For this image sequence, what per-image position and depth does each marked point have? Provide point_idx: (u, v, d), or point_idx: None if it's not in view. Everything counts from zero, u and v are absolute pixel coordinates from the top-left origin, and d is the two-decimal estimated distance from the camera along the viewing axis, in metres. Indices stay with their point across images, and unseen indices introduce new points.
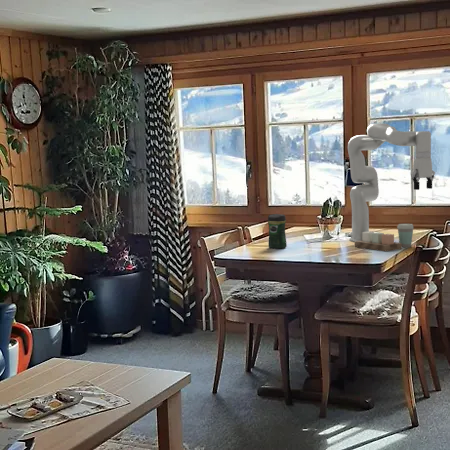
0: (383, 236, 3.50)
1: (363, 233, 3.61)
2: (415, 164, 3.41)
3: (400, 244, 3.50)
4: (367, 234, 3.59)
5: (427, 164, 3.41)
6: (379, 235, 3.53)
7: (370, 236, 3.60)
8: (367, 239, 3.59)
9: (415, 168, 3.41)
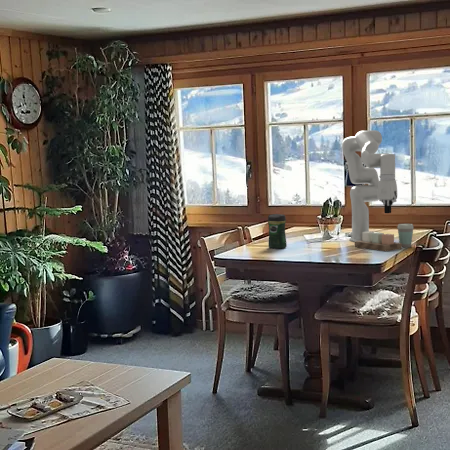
0: (383, 236, 3.50)
1: (363, 233, 3.61)
2: (393, 186, 3.42)
3: (400, 244, 3.50)
4: (367, 234, 3.59)
5: None
6: (379, 235, 3.53)
7: (370, 236, 3.60)
8: (367, 239, 3.59)
9: (394, 192, 3.43)
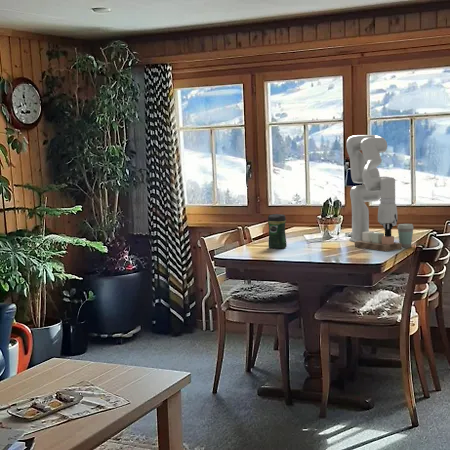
0: (383, 238, 3.50)
1: (363, 233, 3.61)
2: (394, 210, 3.44)
3: (400, 244, 3.50)
4: (367, 234, 3.59)
5: None
6: (379, 235, 3.53)
7: (370, 236, 3.60)
8: (367, 239, 3.59)
9: (394, 216, 3.44)
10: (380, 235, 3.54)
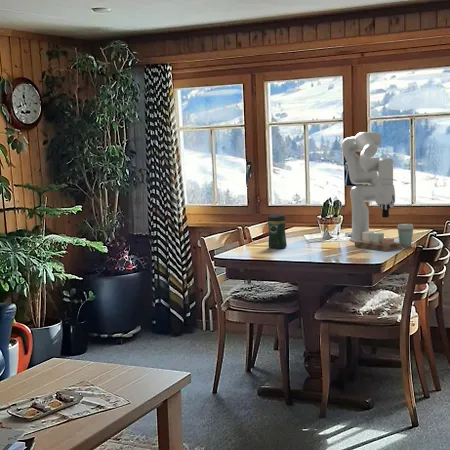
0: (383, 240, 3.50)
1: (363, 233, 3.61)
2: (391, 191, 3.44)
3: (400, 244, 3.50)
4: (367, 234, 3.59)
5: None
6: (379, 235, 3.53)
7: (370, 236, 3.60)
8: (367, 239, 3.59)
9: (391, 197, 3.44)
10: (380, 235, 3.54)
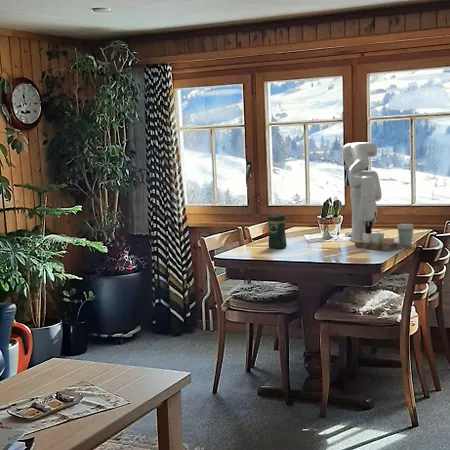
0: (383, 240, 3.50)
1: (363, 234, 3.62)
2: (373, 207, 3.55)
3: (400, 244, 3.50)
4: (367, 235, 3.59)
5: None
6: (379, 235, 3.53)
7: (370, 237, 3.60)
8: (367, 240, 3.59)
9: (374, 214, 3.56)
10: (380, 235, 3.54)
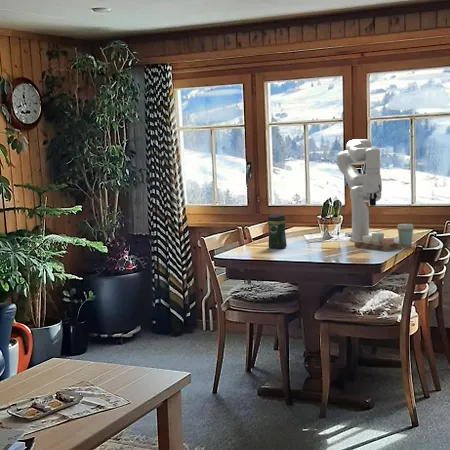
0: (383, 240, 3.50)
1: (363, 237, 3.62)
2: (378, 180, 3.55)
3: (400, 244, 3.50)
4: (367, 238, 3.59)
5: None
6: (379, 235, 3.53)
7: (370, 240, 3.60)
8: None
9: (378, 186, 3.56)
10: (380, 235, 3.54)
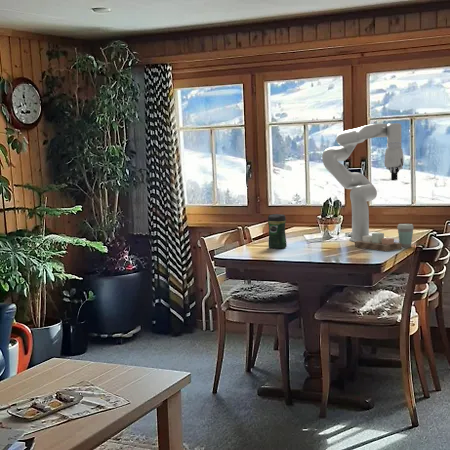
0: (383, 240, 3.50)
1: (363, 237, 3.62)
2: (400, 154, 3.59)
3: (400, 244, 3.50)
4: (367, 238, 3.59)
5: None
6: (379, 235, 3.53)
7: (370, 240, 3.60)
8: None
9: (400, 160, 3.59)
10: (380, 235, 3.54)
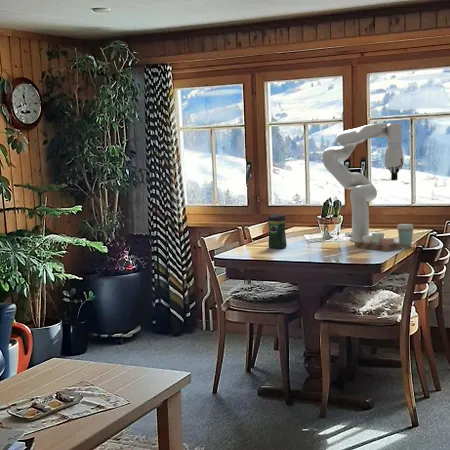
0: (383, 240, 3.50)
1: (363, 237, 3.62)
2: (400, 154, 3.59)
3: (400, 244, 3.50)
4: (367, 238, 3.59)
5: None
6: (379, 235, 3.53)
7: (370, 240, 3.60)
8: None
9: (400, 160, 3.59)
10: (380, 235, 3.54)
